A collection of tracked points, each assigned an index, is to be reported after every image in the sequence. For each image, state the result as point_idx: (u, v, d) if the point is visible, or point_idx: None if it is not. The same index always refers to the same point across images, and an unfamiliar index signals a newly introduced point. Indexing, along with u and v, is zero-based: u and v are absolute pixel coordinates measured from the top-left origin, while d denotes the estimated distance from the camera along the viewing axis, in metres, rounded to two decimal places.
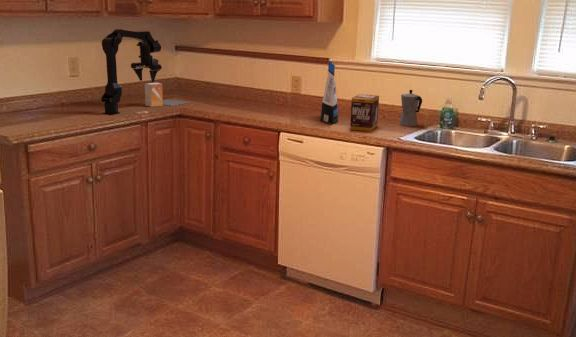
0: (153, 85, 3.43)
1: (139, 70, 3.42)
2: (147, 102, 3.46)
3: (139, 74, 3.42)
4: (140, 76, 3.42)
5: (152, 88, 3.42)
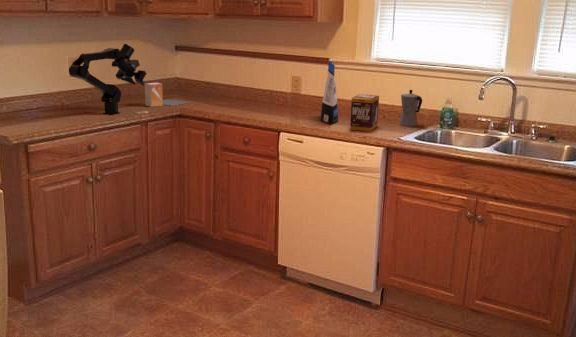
0: (153, 85, 3.43)
1: (128, 77, 3.33)
2: (147, 102, 3.46)
3: (129, 80, 3.35)
4: (131, 81, 3.36)
5: (152, 88, 3.42)
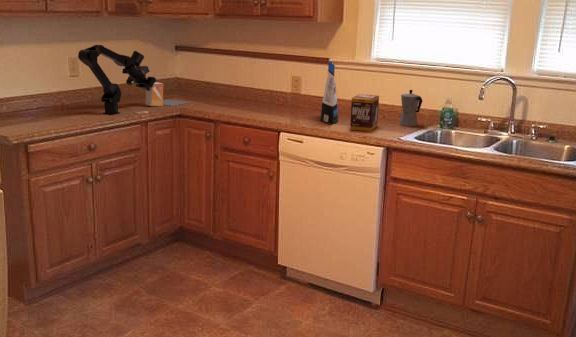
0: (154, 84, 3.43)
1: (142, 84, 3.39)
2: (147, 101, 3.46)
3: None
4: None
5: (153, 87, 3.43)
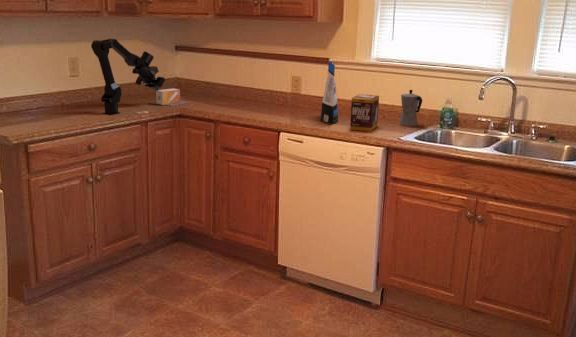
0: (179, 93, 3.57)
1: (151, 84, 3.45)
2: (161, 90, 3.51)
3: None
4: None
5: (177, 91, 3.55)
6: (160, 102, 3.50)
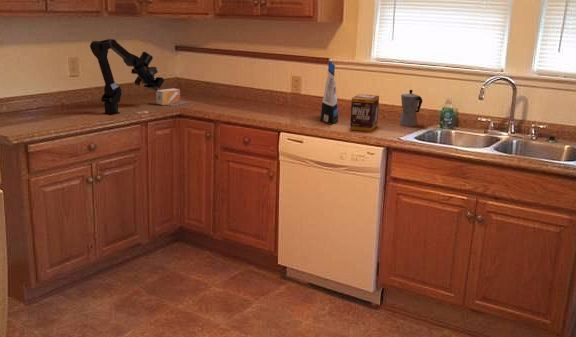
0: (179, 93, 3.57)
1: None
2: (161, 90, 3.51)
3: None
4: None
5: (177, 91, 3.55)
6: (160, 102, 3.50)
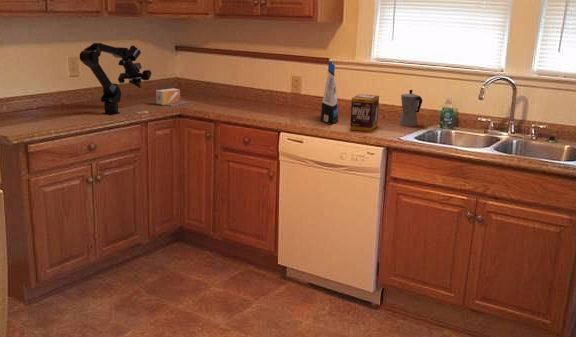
0: (179, 93, 3.57)
1: (135, 80, 3.37)
2: (161, 90, 3.51)
3: (136, 83, 3.38)
4: None
5: (177, 91, 3.55)
6: (160, 102, 3.50)
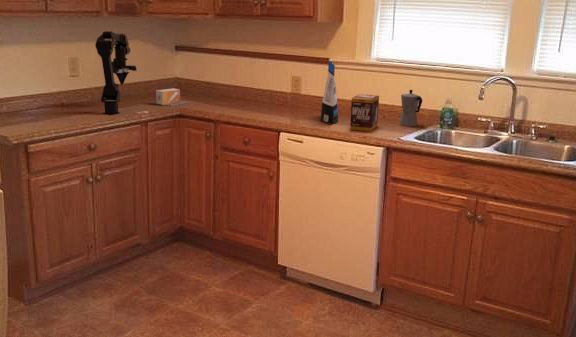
0: (179, 93, 3.57)
1: None
2: (161, 90, 3.51)
3: None
4: None
5: (177, 91, 3.55)
6: (160, 102, 3.50)
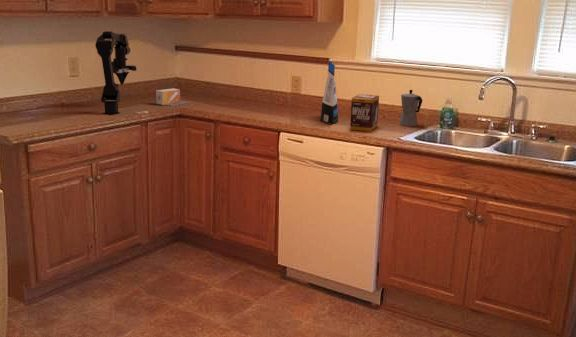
0: (179, 93, 3.57)
1: None
2: (161, 90, 3.51)
3: None
4: None
5: (177, 91, 3.55)
6: (160, 102, 3.50)
